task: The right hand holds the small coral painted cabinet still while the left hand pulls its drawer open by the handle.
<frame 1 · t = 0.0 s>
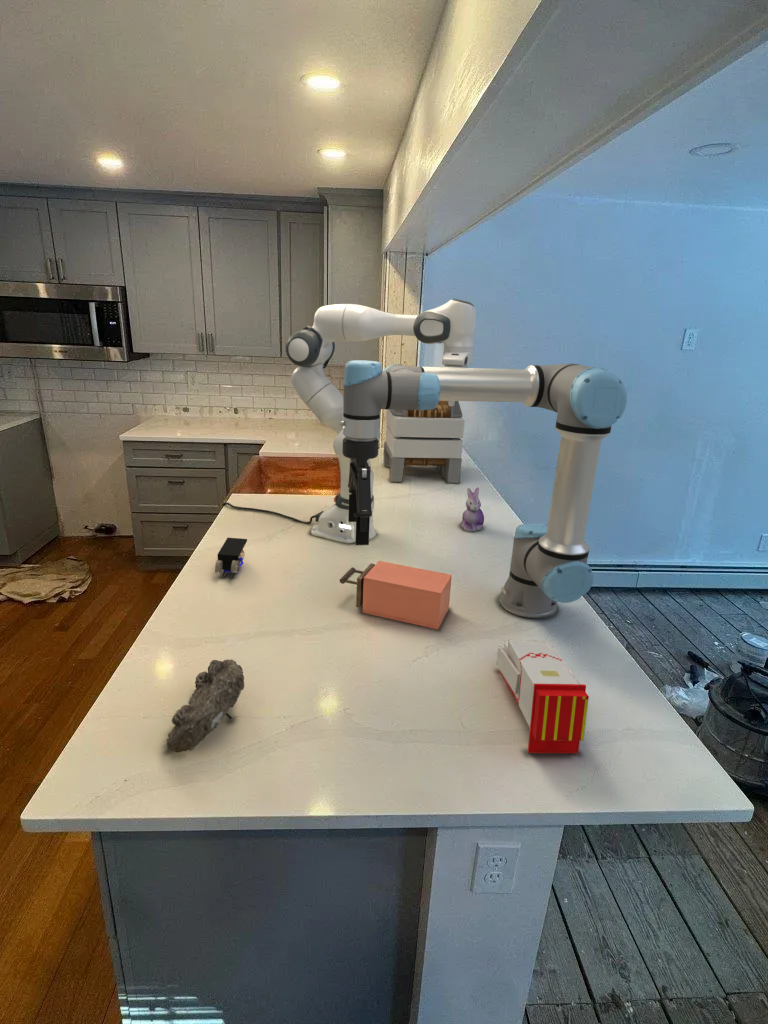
left hand: (454, 403, 174), 48 cm above the counter, tool pointing down, fingers open, 8 cm apart
right hand: (358, 532, 125), 28 cm above the counter, tool pointing down, fingers open, 13 cm apart
fossil: (212, 717, 108), on the counter
figurine character: (232, 569, 168), on the counter
drawer: (387, 589, 149), point 5 cm above the counter, slide at 0.9 cm
cabinet: (406, 610, 149), on the counter
toy: (532, 704, 116), on the counter
figurine: (472, 527, 209), on the counter
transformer: (419, 473, 275), on the counter
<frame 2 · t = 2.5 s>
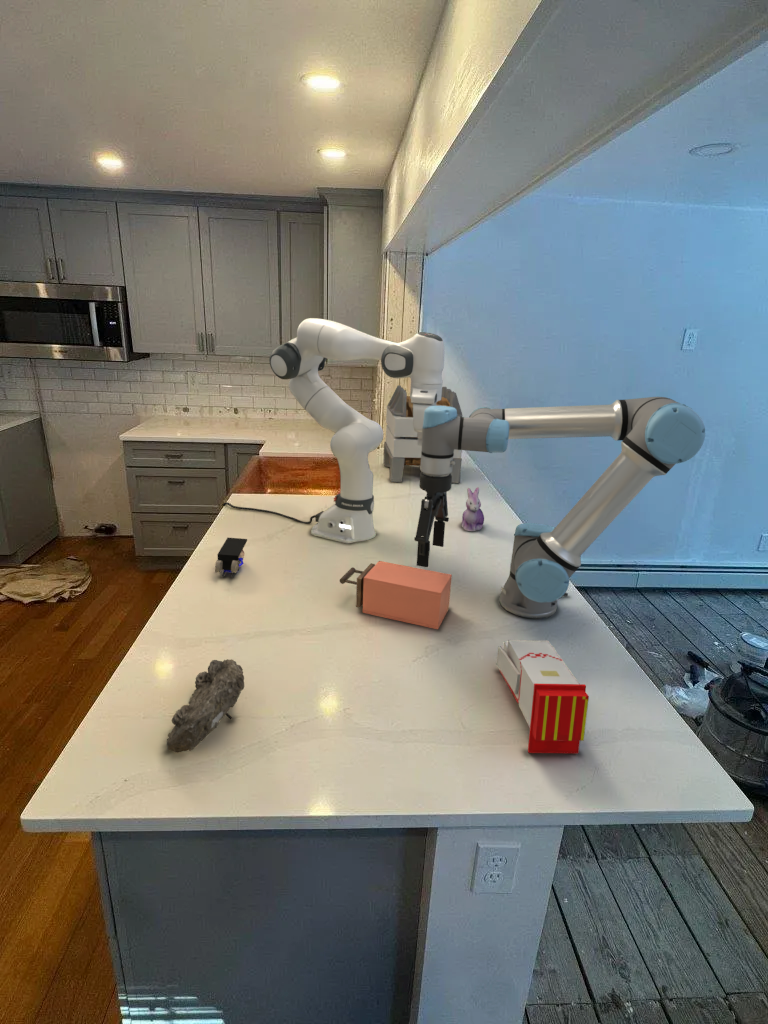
left hand: (422, 441, 164), 39 cm above the counter, tool pointing down, fingers open, 8 cm apart
right hand: (430, 555, 141), 18 cm above the counter, tool pointing down, fingers open, 13 cm apart
nothing on the counter moved.
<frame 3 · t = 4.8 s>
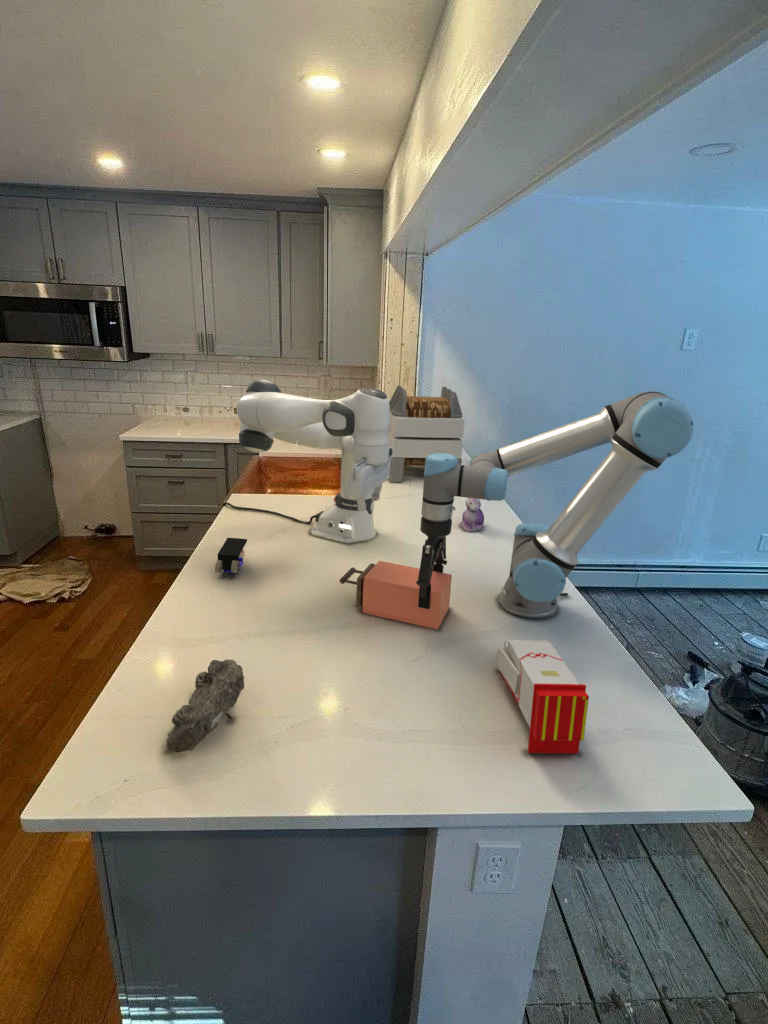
left hand: (368, 505, 149), 26 cm above the counter, tool pointing down, fingers open, 8 cm apart
right hand: (430, 597, 145), 6 cm above the counter, tool pointing down, fingers closed on cabinet, 11 cm apart
cabinet: (406, 610, 149), on the counter, touching right hand
everything else where it was.
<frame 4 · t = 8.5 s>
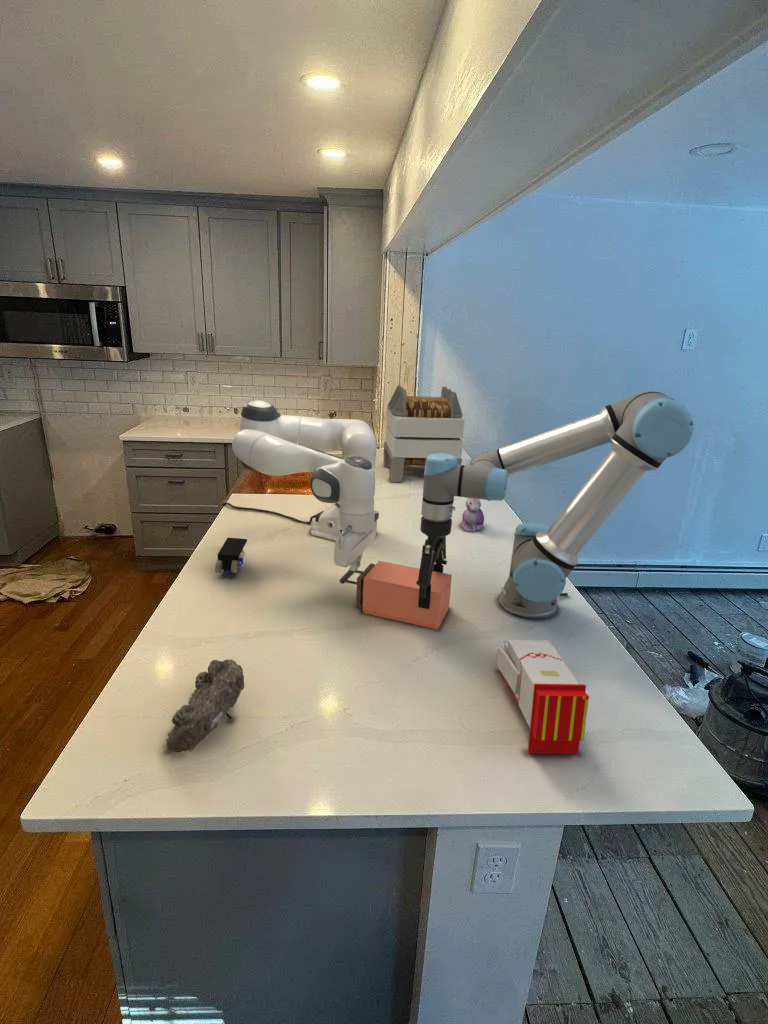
left hand: (355, 568, 151), 9 cm above the counter, tool pointing down, fingers closed
right hand: (430, 597, 145), 6 cm above the counter, tool pointing down, fingers closed on cabinet, 11 cm apart
cabinet: (406, 610, 149), on the counter, touching right hand
everything else where it was.
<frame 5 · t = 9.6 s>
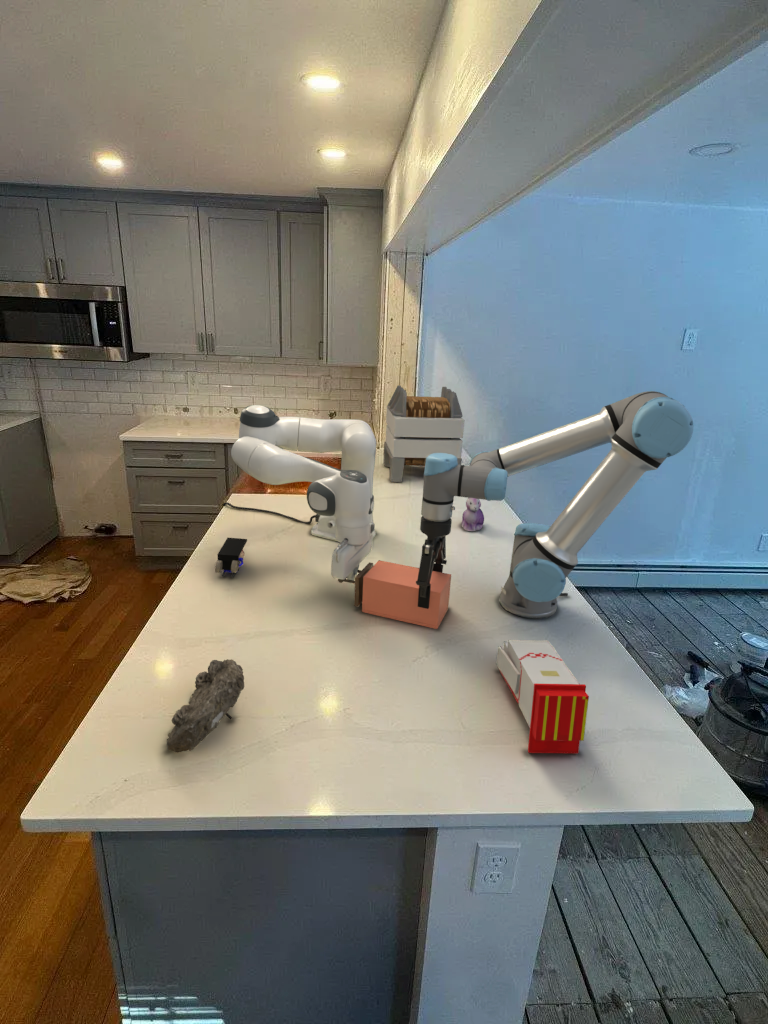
left hand: (352, 580, 152), 5 cm above the counter, tool pointing down, fingers closed, pressing on drawer
right hand: (429, 596, 146), 6 cm above the counter, tool pointing down, fingers closed on cabinet, 11 cm apart
drawer: (385, 588, 149), point 5 cm above the counter, slide at 1.3 cm, touching left hand
cabinet: (405, 610, 149), on the counter, touching right hand
everything else where it was.
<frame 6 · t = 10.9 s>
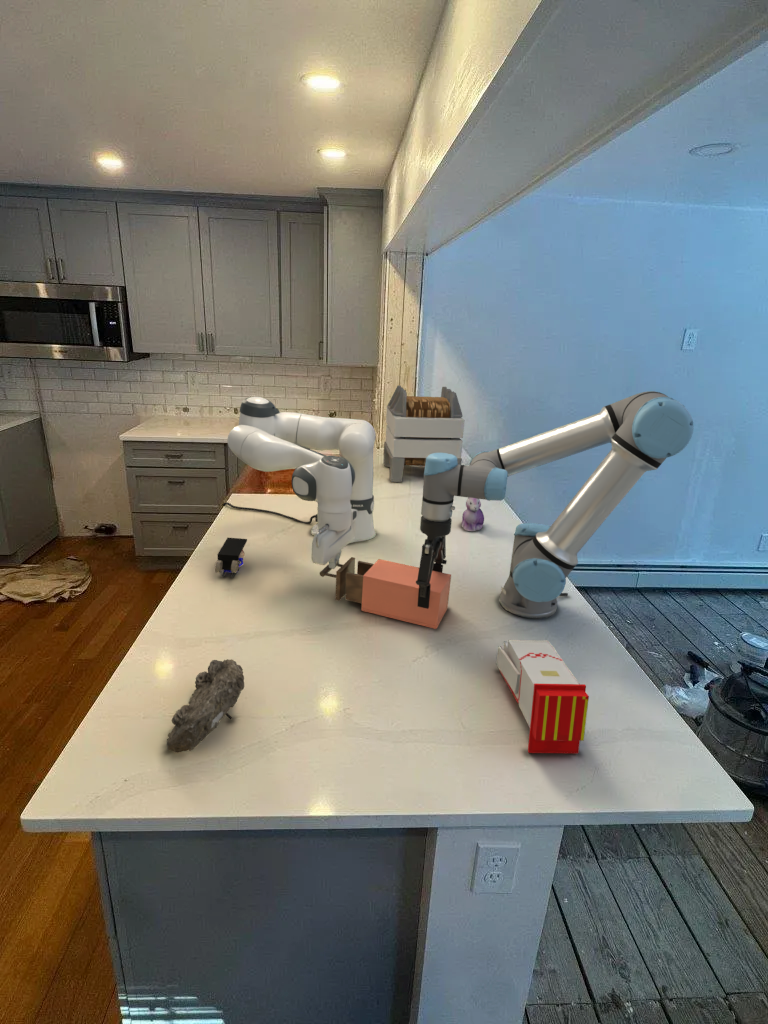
left hand: (333, 566, 153), 9 cm above the counter, tool pointing down, fingers closed
right hand: (429, 596, 146), 6 cm above the counter, tool pointing down, fingers closed on cabinet, 11 cm apart
drawer: (367, 583, 151), point 6 cm above the counter, slide at 6.6 cm
cabinet: (404, 609, 149), on the counter, touching right hand
everything else where it was.
when the right hand's fingers open (6 cm above the counter, at t = 12.4 s): cabinet stays where it is, on the counter.
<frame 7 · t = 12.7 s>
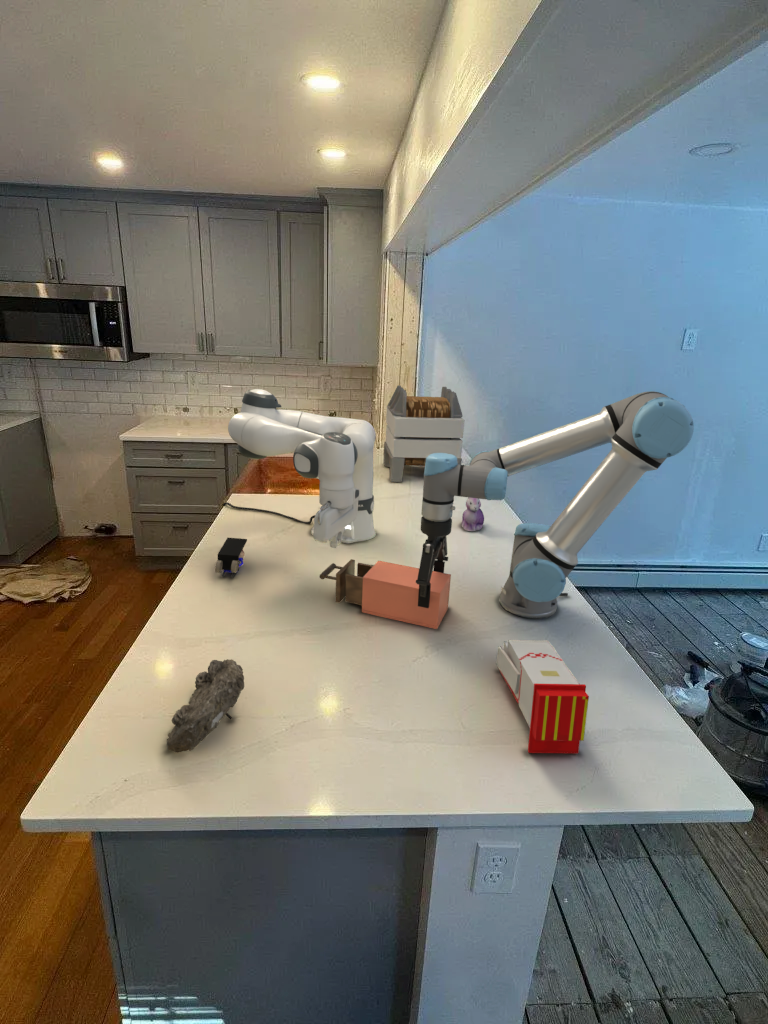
left hand: (335, 545, 151), 15 cm above the counter, tool pointing down, fingers closed
right hand: (430, 594, 145), 6 cm above the counter, tool pointing down, fingers open, 13 cm apart
cabinet: (405, 610, 149), on the counter
everything else where it was.
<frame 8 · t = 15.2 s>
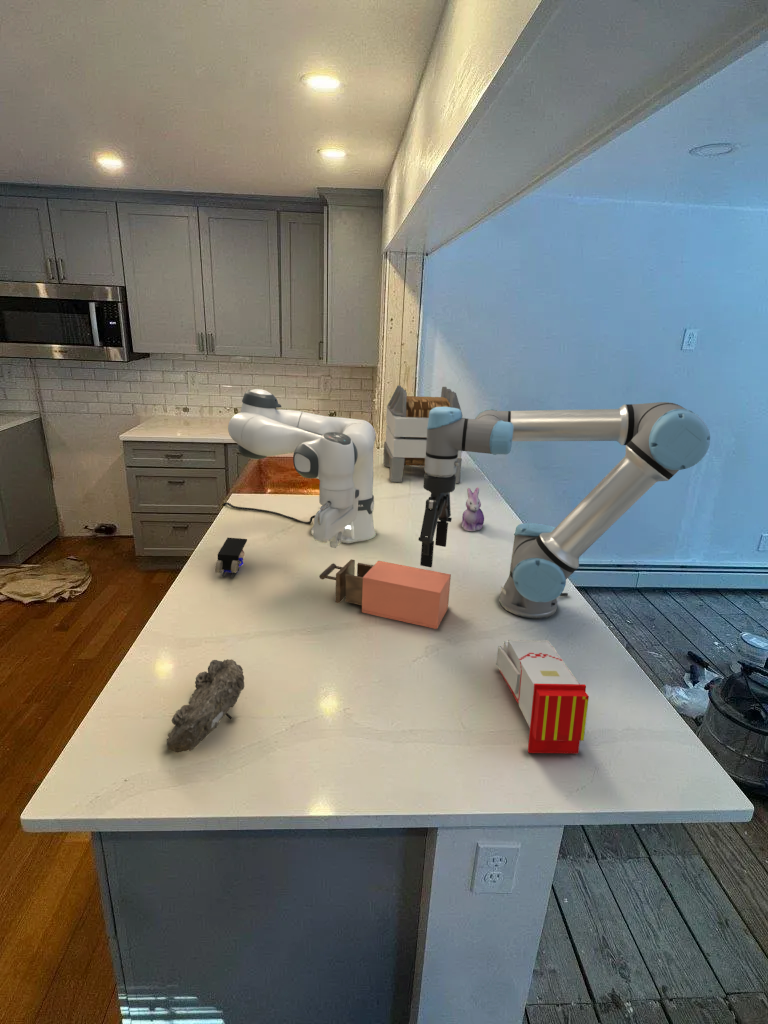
left hand: (335, 545, 151), 15 cm above the counter, tool pointing down, fingers closed
right hand: (433, 555, 142), 17 cm above the counter, tool pointing down, fingers open, 13 cm apart
nothing on the counter moved.
at the end: drawer slide at 6.6 cm; cabinet tilted 0°; cabinet never tilted more than 2° during the clip; cabinet moved 0.3 cm from its start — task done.
